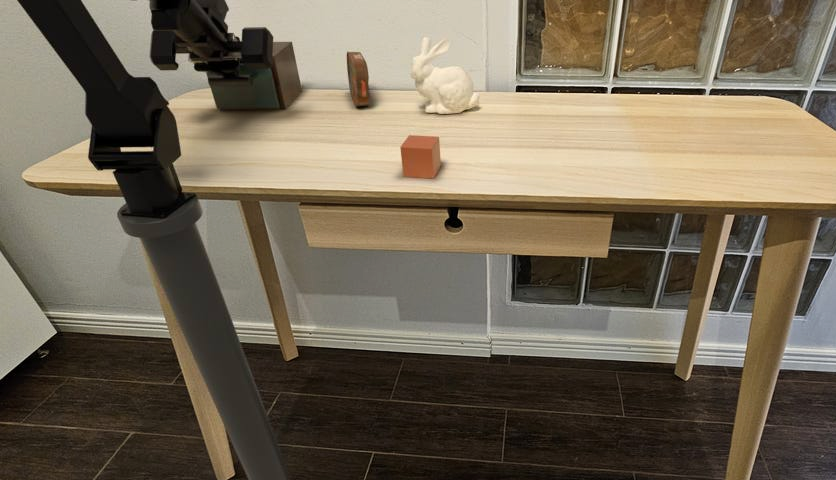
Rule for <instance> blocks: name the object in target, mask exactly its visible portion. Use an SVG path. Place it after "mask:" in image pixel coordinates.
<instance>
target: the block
mask: <svg viewBox="0 0 836 480" xmlns="http://www.w3.org/2000/svg"><path fill="white" fill-rule="evenodd" d="M440 142H441V141H440V136H436V135H435V136H431V135H429V136H428V135H414V134H412V135H411V134H409V135H407V137H406V139H405V140H404V141H403V142H402V144H401V145H400V146H399V147H400V148H399V149H400V158H401V167H402V175H403V178H404V177H405V178H417V179H435V177H436V175H437V173H438V172H439V170H440V168H441V167H442V161H441V143H440Z"/></svg>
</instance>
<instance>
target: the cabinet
mask: <svg viewBox="0 0 836 480" xmlns="http://www.w3.org/2000/svg"><path fill="white" fill-rule="evenodd" d="M240 61H242V58H240ZM272 69H273V74H274V78H275V82H276V87H277V91H278V95H279V100H280V101H279V104H280V107H279V108H257V109H218V110H219V111H265V110H267V111H269V110H270V111H272V110H287V109H288V108H289V106H290V105H291V104H292V103H293V102H294V101H295V100H296V99H297V98H298V96H299V95H300V94H301V93H302V92H303V88H302V83H301V79H300V74H299V69H298V65H297V60H296V55H295V49H294V45H293V41H273V57H272Z"/></svg>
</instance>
